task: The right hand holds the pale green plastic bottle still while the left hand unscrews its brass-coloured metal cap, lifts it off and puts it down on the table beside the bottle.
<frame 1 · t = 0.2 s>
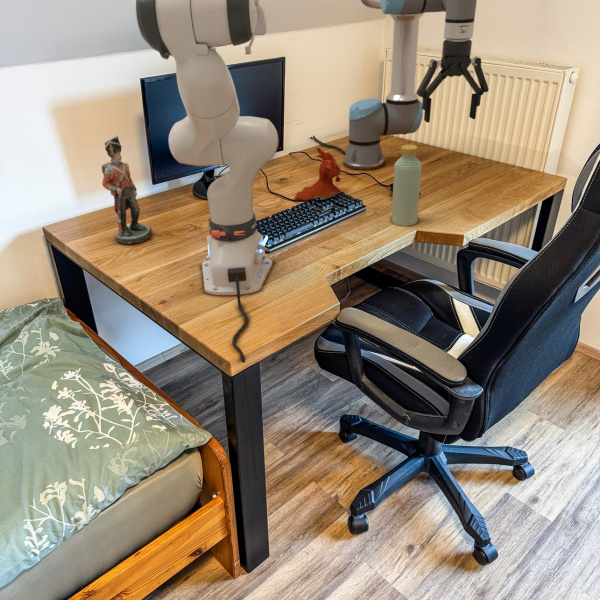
left hand: (231, 54, 151), 48 cm above the table, tool pointing down, fingers open, 8 cm apart
right hand: (449, 119, 162), 28 cm above the table, tool pointing down, fingers open, 13 cm apart
cap: (409, 147, 160), point 22 cm above the table, screwed on, not yet turned
bottle: (404, 220, 171), on the table
toy: (318, 194, 192), on the table
figurine: (134, 237, 169), on the table
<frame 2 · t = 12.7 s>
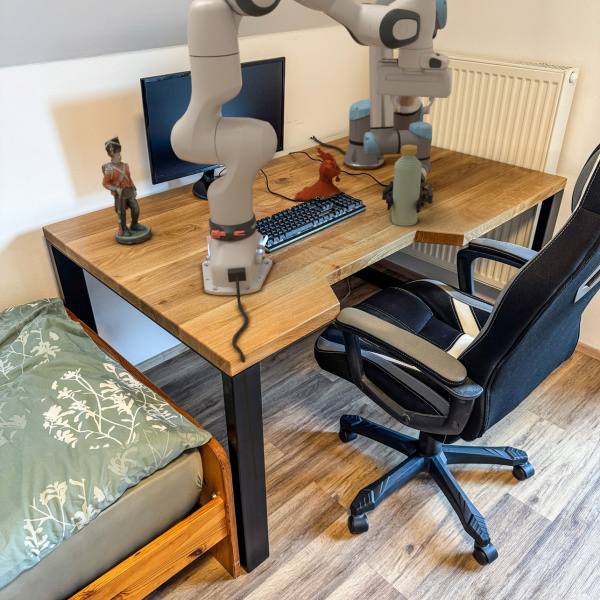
left hand: (411, 112, 154), 32 cm above the table, tool pointing down, fingers open, 7 cm apart
right hand: (403, 207, 164), 6 cm above the table, tool horizontal, fingers closed on bottle, 8 cm apart
bottle: (404, 220, 171), on the table, touching right hand
everything else where it was.
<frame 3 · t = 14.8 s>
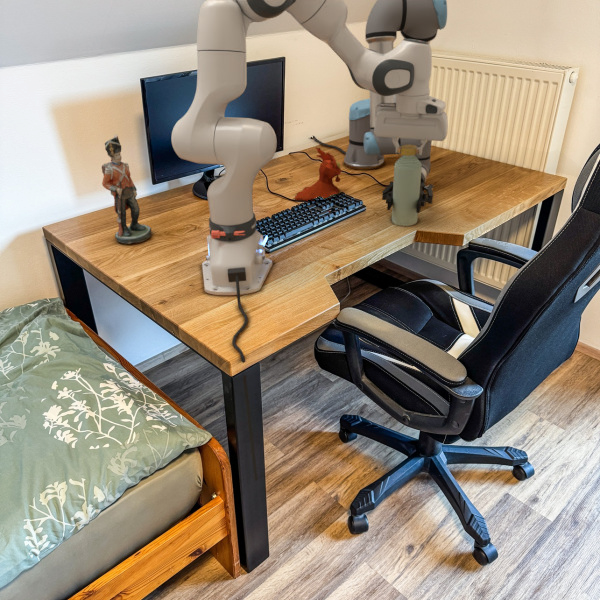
left hand: (408, 153, 161), 21 cm above the table, tool pointing down, fingers closed on cap, 4 cm apart
right hand: (403, 207, 164), 6 cm above the table, tool horizontal, fingers closed on bottle, 8 cm apart
cap: (409, 147, 160), point 22 cm above the table, screwed on, not yet turned, touching left hand
bottle: (404, 220, 171), on the table, touching right hand
everything else where it was.
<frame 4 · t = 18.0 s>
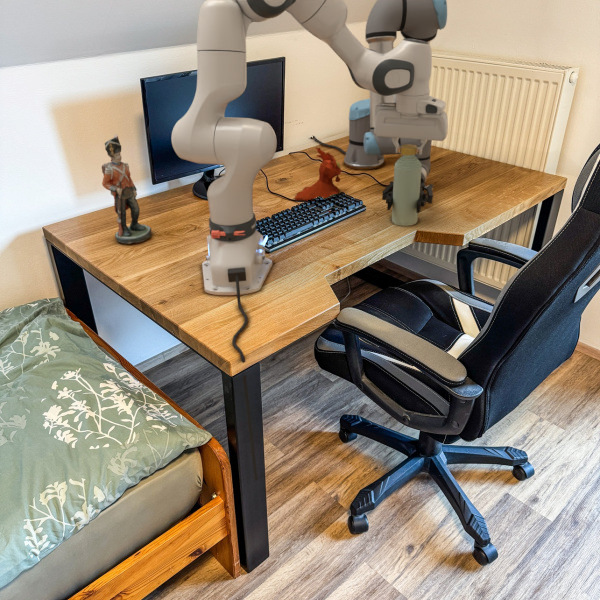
left hand: (408, 153, 160), 21 cm above the table, tool pointing down, fingers closed on cap, 4 cm apart
right hand: (403, 207, 164), 6 cm above the table, tool horizontal, fingers closed on bottle, 8 cm apart
cap: (409, 147, 160), point 22 cm above the table, turned 83° so far, risen 0.1 cm, still on its thread, touching left hand
bottle: (404, 220, 171), on the table, touching right hand
everything else where it was.
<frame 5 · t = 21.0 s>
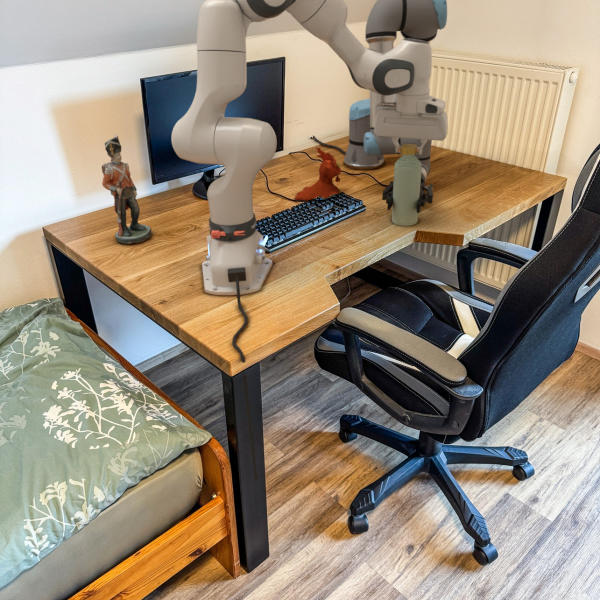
left hand: (408, 153, 160), 21 cm above the table, tool pointing down, fingers closed on cap, 4 cm apart
right hand: (403, 207, 164), 6 cm above the table, tool horizontal, fingers closed on bottle, 8 cm apart
cap: (409, 147, 160), point 23 cm above the table, turned 165° so far, risen 0.1 cm, still on its thread, touching left hand
bottle: (404, 220, 171), on the table, touching right hand
everything else where it was.
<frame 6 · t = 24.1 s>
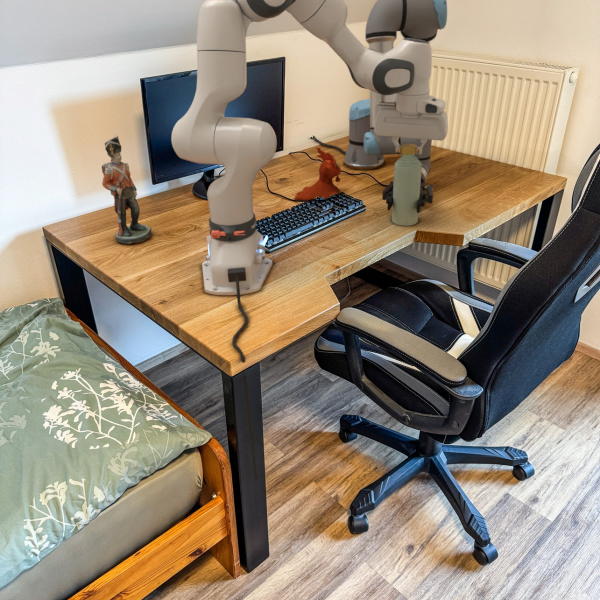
left hand: (408, 153, 160), 21 cm above the table, tool pointing down, fingers closed on cap, 4 cm apart
right hand: (403, 207, 164), 6 cm above the table, tool horizontal, fingers closed on bottle, 8 cm apart
cap: (409, 147, 160), point 23 cm above the table, turned 247° so far, risen 0.2 cm, still on its thread, touching left hand
bottle: (404, 220, 171), on the table, touching right hand
everything else where it was.
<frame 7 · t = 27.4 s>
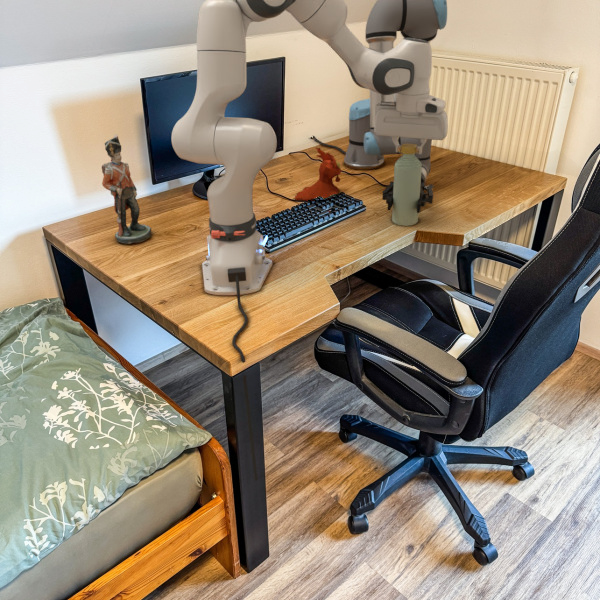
left hand: (408, 152, 160), 21 cm above the table, tool pointing down, fingers closed on cap, 4 cm apart
right hand: (403, 207, 164), 6 cm above the table, tool horizontal, fingers closed on bottle, 8 cm apart
cap: (409, 146, 160), point 23 cm above the table, turned 330° so far, risen 0.3 cm, still on its thread, touching left hand
bottle: (404, 220, 171), on the table, touching right hand
everything else where it was.
when the left hand's fingers open (2 cm above the table, at t = 36.0 s): cap drops 2 cm, point 1 cm above the table.
when the right hand's fingers open (6 cm above the table, at t = 37.1 s): bottle stays where it is, on the table.
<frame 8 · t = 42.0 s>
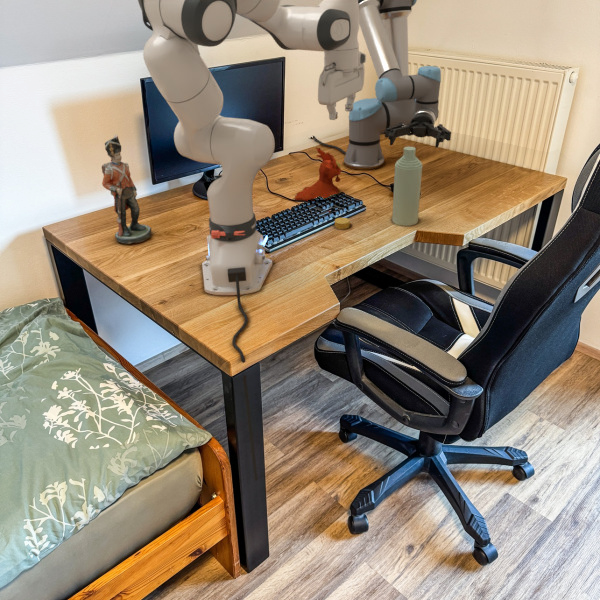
left hand: (341, 115, 151), 33 cm above the table, tool pointing down, fingers open, 8 cm apart
right hand: (413, 141, 168), 21 cm above the table, tool horizontal, fingers open, 13 cm apart
cap: (342, 221, 169), point 1 cm above the table, off its thread
bottle: (404, 220, 172), on the table
everything else where it was.
at the end: cap came off its thread; cap point 1.5 cm above the table; the left hand is holding nothing; the right hand is holding nothing; bottle tilted 0°; bottle moved 0.2 cm from its start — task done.
